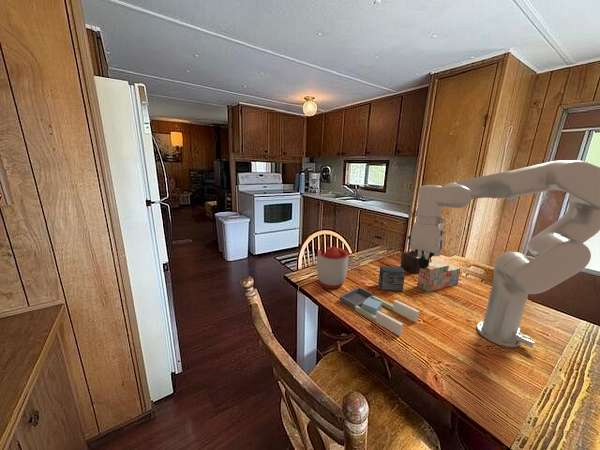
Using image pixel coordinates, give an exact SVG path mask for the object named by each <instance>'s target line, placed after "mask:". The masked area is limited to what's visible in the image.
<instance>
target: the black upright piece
mask: <svg viewBox="0 0 600 450" xmlns="http://www.w3.org/2000/svg"><path fill="white" fill-rule="evenodd" d="M407 239H408V243H407V246H409V247H411V246H410V240H411V235H408V236H407ZM399 267H402V268H403V270H404V271H405V272H409V273H410V274H419V270H420V265H419V257H418V255H417V253H416V252H415V251H413V250H409V251H403V252H401V257H400V266H399Z"/></svg>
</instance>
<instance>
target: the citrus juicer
mask: <svg viewBox="0 0 600 450" xmlns="http://www.w3.org/2000/svg"><path fill="white" fill-rule="evenodd" d="M316 253H317V262H316V263H317V264H316V266H317V267H316V272H317V277H318V282H319V283H320V285H321V286H322V287H324V288H326V289H332V290H333V289H339V288H341V287H342V286H343V285H344V283H345V281H346V278H347V274H348V268H349V267H348V264H349V256H350V253H349V251H347V250H346V249H344V248H341V247H336V246H329V247H328V246H327V247H326V252H322V250H321V249H318V250H316Z"/></svg>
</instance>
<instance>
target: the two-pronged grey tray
mask: <svg viewBox="0 0 600 450" xmlns="http://www.w3.org/2000/svg"><path fill="white" fill-rule="evenodd" d="M368 297H369V298H371V299H374V300H377V301H380V302H382V306H383V307H385V308H388V309H389V310H391V311H393V312H395V313H397V314H399V315H401V316H403V317H405V318H407V319H409V320H410V321H413V322H415V323H418V321H419V317H420V310H419V309H416V308H414V307H412V306H410V305H408V304H405V303H404V302H401V301H400V300H397V299H394V300H393V303H391V302H389V301H386V300H384V299H382V298H380V297H377V296H376V295H374V293H373V292H371V291H369V290H368V289H364V288H363V287H361V286H358V287H356V288H354V289H352V290H350V291H348V292H346V293H345V292H344V293H343V294H342V295H340V296H339V302H341V303H342V304H344V305H345V306H348V307H350V309H353V310H354V311H356V312H358V313H360V314H361V315H363V316H365V317H366V318H368V319H370V320H372V321H373V322H375V323H377V324H378V325H380V326H381V327H383V328H385V329H387V330H389V331H390V332H392V333H394V334H395V335H397V336H399V337H400V336H402V335H403V328H404V323H403V322H401V321H399V320H397V319H395V318H394V317H392V316H390V315H387V314H386V313H384V312H382V311H377V314H376V316H375V315H373V314H372V313H370V312H368V311H366V310H365V309H363V308H362V303H363V302H364V301H365V300H366V299H367V298H368Z"/></svg>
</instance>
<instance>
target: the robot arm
mask: <svg viewBox="0 0 600 450" xmlns="http://www.w3.org/2000/svg"><path fill="white" fill-rule="evenodd" d="M549 191H560V192H565V193H567V194H568V208H567V211H566V213H565V214H564V215H562V217H561V218H559V219H558V220H557V221H555V222H554V223H552V224H551V225H549V226H547V227H546V228H545V229H543V230H541V231H540V232H539V233H538V234H536V235H535V236H533V237H532V238H530V240H529V241H528V243H527V249H528V251H529V253H530V254H531V255H533V256H534V258H533V259H532V258H530V257H529V256H527V255H525V254H524V253H521V252H518V251H506V252H503V253H501V254H500V255H498V257H497V258H496V259H495V262H494V266H493V281H492V285H491V290H490V294H489V296H488V301H487V305H486V310H485V313H484V317H483V318H484V319H483V321H479V322H478V323H477V325H476V330H477V332H478V334H480V335H481V336H482V337H483V338H485V339H486V340H488V341H490V342H492V343H493V344H496V345H498V346H502V347H505V348H506V347H507V348H517V347H519V346H521V344H525V345H527V346H528V347H531V348H533V347H534V345H535V341H533V340H531V337H530V336H529V335H526V334H523V333H522V332H521V328H520V325H521V321H522V317H523V314H524V310H525V307H526V304H527V302H528V296H529V295H537V294H541V293H544V292H546V291H549V290H550V289H552V288H554V287H557V285H559V284H561V283H562V282H564V281H567V280H568V279H570V278H571V277H573V276H575V275H576V274H578V273H580V272H581V271H583V270H584V269H585V268H586V267H587V266H588V264H589V263H590V261H591V257H592V254H591V253H592V252H591V250H590V248H589V247H588V246H587V245H586V244H584V243H586V242H587V241H589V239H591V238H592V237H595V236H596V235H597V234H598V233H599V232H600V166H597V165H594V164H592V163H589V162H588V161H587V162H586V161H584V160H576V159H575V160H574V159H573V160H553V161H548V162H543V163H537V164H534V165H530V166H529V165H528V166H526V167H520V168H516V169H512V170H507V171H502V172H498V173H497V172H496V173H492V174H488V175H482V176H481V175H480V176H476V177H471V178H467V179H466V178H465V179H461V180H457V181H453V182H449V183H446V184H445V185H444V186H442V185H440V184H439V185H438V184H423V185H421V186H419V189H418V198H417V208H416V209H417V211H416V221H415V222H414V224H413V226H412V229H411V240H410V246H409V250H410V251H415V252H416V253H417V255H418V257H419V265H420V268H423V269H425V268H427V267H428V266H429V263H430V259H431V258H432V257H441V255H442V250H443V249H444V228H443V226H444V225H443V223H445V221H446V220H445V218H443V217H442V210H443V209H442V207H445V208H454V209H460V208H464V207H466V206H468V205H469V204H470V203H471V202H472V200H474V199H487V198H488V199H489V198H491V199H512V198H518V197H522V196H526V195H532V194H539V193H543V192H549Z"/></svg>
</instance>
